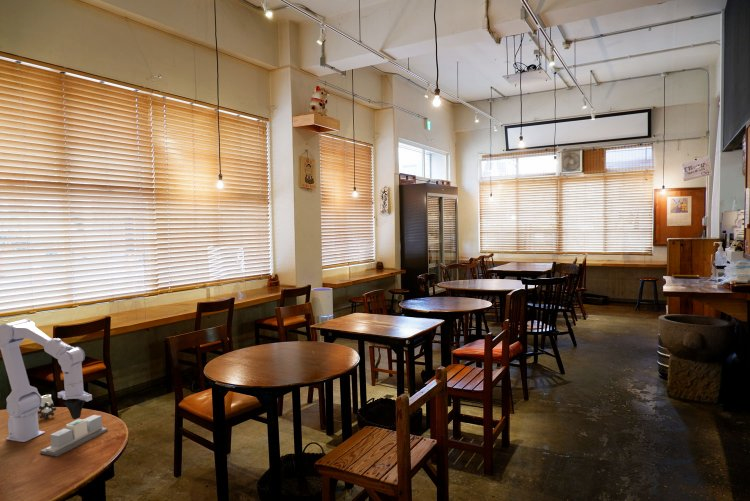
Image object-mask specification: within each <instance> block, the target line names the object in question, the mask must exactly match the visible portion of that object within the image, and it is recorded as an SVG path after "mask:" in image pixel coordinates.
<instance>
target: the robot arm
mask: <svg viewBox="0 0 750 501" xmlns="http://www.w3.org/2000/svg"><path fill="white" fill-rule="evenodd" d="M36 325H37V324H36V323H35V322H34V321H32V320H31V319H30V318H22V319H19V320H15V321H11V322H7V323H1V324H0V353H1V356H2V360H3V363H4V366H5V370H6V373H7V376H8V381H9V385H10V389H11V392H10V393H9V395H8V396H7V397H6V399H5V400H6V412H7V414H8V415H9V417H8V419H7V427H8V437H6V440H9V441H14V442H15V441H16V442H21V443H26V442H28V441H30V440H33V439H34V438H37V437H38V436H41V435H43V434H45V431H44V430H40V427H39V414H38V413H37V411H40V409H39V407H40V406H41V404H42V395H41V394H40V393H39V391H38V388H37V387H35V386H32V385H30V380H29V378H28V374H27V370H26V367H25V363H24V359H23V356H22V352H21V348H20V345H21V343H22V342H23V341H24V340H26V339H28V340H30V341H32V342H34V343H36V344H37V345H39V346H40V345H41V346H42V347H43V349H44V350H43V351H44V352H45V353H47V354H49V355H50V356H51V357H53V358H54V359H56V360H57V362H58V364H59V366H60V368H61V371H62V374H63V384H64V390H61V391H59V392H57V398H58V399H61V398H62V400H65V401H63V405H64V406H65V407H66V408H67V410H68V411H69V414H70V416H71V418H72V420H77V419H81V414H82V410H83V408H84V404H85V402H86V403H87V402H89V401H92V400H93V395H92V394H90V393H88V392H86V391H85V390H84V389H85V388H84V379H83V378H84V376H83V366H82V364H83V361H85V359H86V358H85V357H86V354H85V351H84V350H83V349H82V348H81V347H79V346H75V347H74V346H71V345H70V344H68V343H66V342H65V341H62V339H61V338H59V337H57V338H56V337H55V338H51V337H50V336H49V335H47V334H46V333H44V332H43V331H42V330H40V329H39V328H38V327H37V326H36Z"/></svg>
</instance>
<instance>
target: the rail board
mask: <svg viewBox="0 0 750 501" xmlns="http://www.w3.org/2000/svg"><path fill="white" fill-rule="evenodd" d="M82 420H87V434H85V435H83V436H81V437H79V438H77V439H73V436H72V430H71V429H66V428H62V429H60V430H57V431H55V432H53V433H51V434H49V436H50V445H49V446H47V447H45V448H43V449H40V452H39V453H40V454H42V455H47V456H53V457H58V456H61V455H62V454H65V453H67V452H69V451H71V450H73V449H75V448H77V447H79V446H80V445H82V444H84V443H86V442H89V441H90V440H92V439H94V438H96V437H98V436H100V435H102V434H104V433H105V432H108V427H104V426H103V420H102V415H97V414H93V415H90V416H88V417H85V418H83V419H82Z"/></svg>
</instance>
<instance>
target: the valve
mask: <svg viewBox="0 0 750 501" xmlns="http://www.w3.org/2000/svg"><path fill="white" fill-rule="evenodd" d="M41 397H42V404H41V406H40V407H39V410H38V411H37V413H38V415H39V419H43V418H44V417H45V420H47V419H49V418H50V416H52V417H53V416H55V412H54V411H57V407H54V401H53V399H52V394H45V395H41ZM44 413H45V414H44Z"/></svg>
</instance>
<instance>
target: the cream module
mask: <svg viewBox="0 0 750 501" xmlns="http://www.w3.org/2000/svg"><path fill="white" fill-rule="evenodd" d="M65 429H71V430H72V436H73V439H77V438H79V437H81V436H83V435H85V434H87V420H83V419H81V418H77V419H74V420H73V421H71V422H68V423H67V424H65Z"/></svg>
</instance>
